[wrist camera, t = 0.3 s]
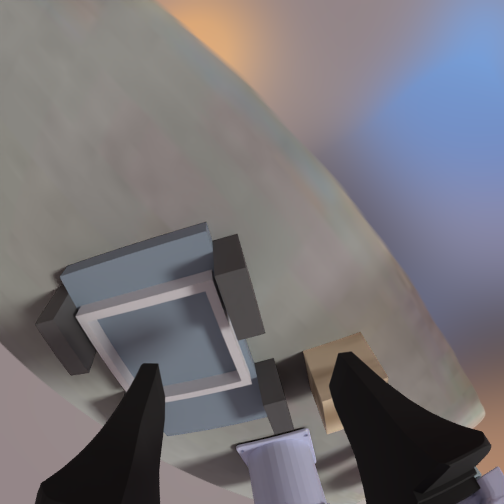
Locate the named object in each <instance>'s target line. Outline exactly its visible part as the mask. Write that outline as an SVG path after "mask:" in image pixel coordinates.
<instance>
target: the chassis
mask: <svg viewBox="0 0 504 504" xmlns="http://www.w3.org/2000/svg"><path fill="white" fill-rule="evenodd" d="M60 278H61V280H62V282H63V284H64V286H62V287H59V288H58V289H57V291H56V292H55V294H54V295H53V297H52V298H51V300H50V301H49V303H48V304H47V306H46V308H45V309H44V311H43V312H42V314H41V315H40V317H39V319H38V320H37V322H36V324H35V325H36V327H37V328H38V330H39V332H40V333H41V335H42V336H43V338H44V339H45V341H46V342H47V343H48V345H49V346H50V348H51V349H52V351H53V352H54V354H55V355H56V356H57V358H58V359H59V361H60V362H61V363H62V365H63V366H64V367H65V369H66V370H67V371H68V373H69V374H70V375H78V374H84V373H89V371H90V368H91V365H92V362H93V359H94V356H95V353H96V350H97V352H98V353H99V355H100V356H101V358H102V359H103V360H104V362H105V363H106V365H107V366H108V368H109V369H110V371H111V372H112V373H113V375H114V376H115V378H116V379H117V380H118V382H119V383H120V384H121V386H122V387H123V388H124V390H125V394H126V392H127V391H128V389H129V387H130V385H131V384H132V382H133V380H134V378H135V376H136V374H137V372H138V370H139V368H140V366H141V365H142V364H143V363H158V364H159V369H160V374H161V379H162V384H163V389H164V393H165V423H164V431H163V432H164V433H165V434H166V435H167V436H172V435H179V434H185V433H192V432H198V431H203V430H209V429H214V428H219V427H224V426H229V425H234V424H239V423H243V422H248V421H252V420H256V419H260V418H264V417H268V419H269V422H270V424H271V427H272V429H273V431H274V434H279V433H283V432H286V431H290V430H294V427H293V423H292V420H291V416H290V413H289V409H288V406H287V402H286V398H285V395H284V391H283V388H282V385H281V381H280V378H279V374H278V371H277V368H276V364H275V361H274V358H273V359H269V360H266V361H262V362H258V363H255V364H254V361H253V359H252V356H251V353H250V350H249V348H248V345H247V342H246V338H250V337H254V336H257V335H261V334H264V333H265V330H264V327H263V323H262V319H261V315H260V312H259V308H258V304H257V301H256V297H255V293H254V290H253V286H252V283H251V279H250V276H249V272H248V269H247V265H246V262H245V259H244V255H243V252H242V248H241V245H240V241H239V238H238V234H236V235H232V236H229V237H225V238H222V239H218V240H215V241H212V239H211V236H210V232H209V229H208V226H207V223H206V222H205V223H201V224H198V225H194V226H191V227H188V228H184V229H181V230H178V231H174V232H171V233H168V234H164V235H161V236H158V237H155V238H151V239H148V240H145V241H142V242H139V243H136V244H132V245H129V246H126V247H123V248H120V249H117V250H114V251H111V252H108V253H105V254H101V255H98V256H95V257H92V258H89V259H86V260H83V261H80V262H78V263H75V264H72V265H69V266H67V267H66V269H65V270H64V271H63V273H62V274H61V276H60ZM125 394H124V396H125Z"/></svg>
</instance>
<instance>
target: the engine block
mask: <svg viewBox="0 0 504 504" xmlns="http://www.w3.org/2000/svg"><path fill="white" fill-rule="evenodd" d="M350 351H352V352H353V353H354V354H355V355H356V356H357V357H358V358H360V359H361V360H362V361H363V362H364V363H365V364H366V365H367V366H368V367H370V368H371V369H372V370H373V371H374V372H375V373H376V374H377V375H379V376H380V377H381V378H382V379H383V380H384V381H386V382H387V383H388V376H387V374H386V373H385V371H384V370H383V368H382V366H381V365H380V363H379V361H378V360H377V358H376V356H375V355H374V353H373V352H372V350H371V348H370V347H369V345H368V344H367V342H366V340H365V339H364V337H363V336H362V334H361V332H359V333H356V334H353V335H350V336H347V337H344V338H342V339H339V340H336V341H333V342H330V343H327V344H324V345H320V346H317V347H314V348H311V349H308V350H305V351H303V354H304V359H305V364H306V369H307V374H308V379H309V384H310V389H311V391H312V394H313V397H314V400H315V402H316V405H317V408H318V411H319V413H320V416H321V419H322V422H323V424H324V427H325V430H326V433H327V434H330V433H333V432H336V431H339V430H342V429H344V428H343V426H342V423H341V421H340V419H339V416H338V414H337V412H336V409H335V407H334V403H333V400H332V397H331V393H330V389H329V383H330V380H331V377H332V373H333V370H334V366H335V363H336V359H337V356H338V353H343V352H350Z"/></svg>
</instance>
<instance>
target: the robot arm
mask: <svg viewBox="0 0 504 504" xmlns="http://www.w3.org/2000/svg"><path fill="white" fill-rule="evenodd" d="M329 389H330V393H331V397H332V400H333V403H334V407H335V409H336V412H337V414H338V416H339V419H340V421H341V423H342V426H343V428H344V430H345V432H346V435H347V437H348V439H349V442H350V444H351V446H352V449H353V452H354V454H355V458H356V461H357V465H358V468H359V472H360V476H361V480H362V484H363V488H364V493H365V498H366V504H504V475H503V473H502V471H501V470H500V468H499V467H496V468H494V469H493V470H491V471H489V472H488V473H486V474H485V475H483V476H482V477H480V478H479V479H478V480H476V479H475V477H474V476H475V475H476V474H477V472H476V470H475V468H474V467H475V466H476V465H477V464H478V463H479V462H480V461H481V460H482V459H483V458H484V457H485V456H486V455H487V454H488V453H489V451H490V449H491V444H490V443H489V441H488V440H487V438H486V437H485V435H484V433H483V432H482V431H478V430H474V429H471V428H467V427H464V426H461V425H458V424H456V423H453V422H450V421H448V420H446V419H443V418H441V417H439V416H437V415H435V414H433V413H431V412H429V411H427V410H426V409H424V408H422V407H420V406H419V405H417V404H416V403H414V402H412V401H411V400H409V399H408V398H406V397H405V396H404V395H402V394H401V393H400V392H398V391H397V390H396V389H394V388H393V387H392V386H391V385H389V384H388V383H387V382H386V381H384V380H383V379H382V378H381V377H380V376H379V375H377V374H376V373H375V372H374V371H373V370H372V369H371V368H370V367H368V366H367V365H366V364H365V363H364V362H363V361H362V360H361V359H360V358H358V357H357V356H356V355H355V354H354V353H353V352H352V351H350V352H343V353H338V356H337V359H336V363H335V366H334V370H333V373H332V377H331V380H330V383H329ZM164 423H165V393H164V389H163V384H162V379H161V374H160V369H159V364H158V363H143V364H142V365H141V366H140V368H139V370H138V372H137V374H136V376H135V378H134V380H133V382H132V384H131V385H130V387H129V389H128V391H127V392H126V394H125V396H124V397H123V399H122V401H121V402H120V404H119V405H118V407H117V408H116V410H115V411H114V413H113V414H112V416H111V417H110V418H109V420H108V421H107V422H106V424H105V425H104V426H103V428H102V429H101V430H100V432H99V433H98V434H97V435H96V436H95V437H94V438H93V440H92V441H91V442H90V443H89V444H88V445H87V446H86V447H85V448H84V449H83V450H82V451H81V452H80V453H79V454H78V455H77V456H76V457H75V458H74V459H72V460H71V461H70V462H69V463H68V464H67V465H65V466H64V467H63V468H62V469H60V470H59V471H58V472H57V473H55V474H54V475H52V476H51V477H49V478H48V479H46V480H45V481H43V482H42V483H41V485H40V488H39V490H38V493H37V497H36V502H35V504H160V492H159V467H160V457H161V448H162V440H163V431H164ZM236 450H237V452H238V453H239V455H240V456H241V458H242V459H243V461H244V462H245V464H246V465H247V466H248V468H249V474H250V480H251V486H252V492H253V498H254V504H330V503H327V502H326V499H325V496H324V492H323V489H322V486H321V483H320V479H319V476H318V473H317V470H316V466H315V463H316V458H315V453H314V449H313V445H312V440H311V436H310V432H309V429H307V428H304V429H301V430H297V431H294V432H290V433H286V434H282V435H279V436H275V437H271V438H267V439H263V440H258V441H254V442H249V443H245V444H240V445H237V446H236Z"/></svg>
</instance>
